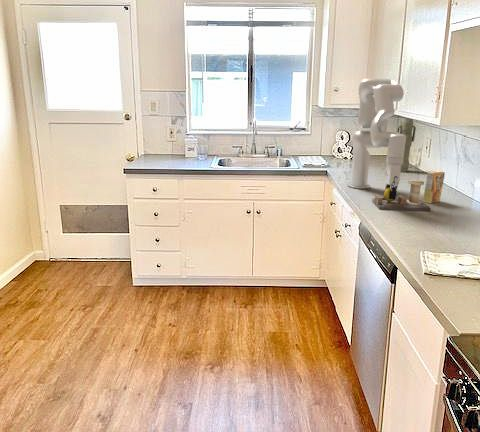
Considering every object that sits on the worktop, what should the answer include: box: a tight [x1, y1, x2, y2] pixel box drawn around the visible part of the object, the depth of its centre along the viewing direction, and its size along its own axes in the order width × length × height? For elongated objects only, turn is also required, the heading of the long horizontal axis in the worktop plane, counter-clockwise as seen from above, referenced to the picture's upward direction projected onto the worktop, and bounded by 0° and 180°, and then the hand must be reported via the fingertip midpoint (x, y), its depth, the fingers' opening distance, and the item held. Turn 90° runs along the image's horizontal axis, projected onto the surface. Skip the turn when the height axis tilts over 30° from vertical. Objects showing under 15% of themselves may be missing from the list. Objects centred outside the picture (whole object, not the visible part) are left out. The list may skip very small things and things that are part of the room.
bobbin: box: [406, 179, 425, 206], centre depth 220 cm, size 7×7×11 cm
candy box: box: [422, 170, 446, 204], centre depth 230 cm, size 9×4×15 cm, turn 123°
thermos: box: [396, 117, 417, 173], centre depth 303 cm, size 9×12×35 cm
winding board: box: [371, 194, 432, 212], centre depth 222 cm, size 14×24×4 cm, turn 88°
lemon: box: [383, 187, 394, 203], centre depth 221 cm, size 6×6×8 cm
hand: (390, 196), depth 221 cm, fingers open, 6 cm apart
